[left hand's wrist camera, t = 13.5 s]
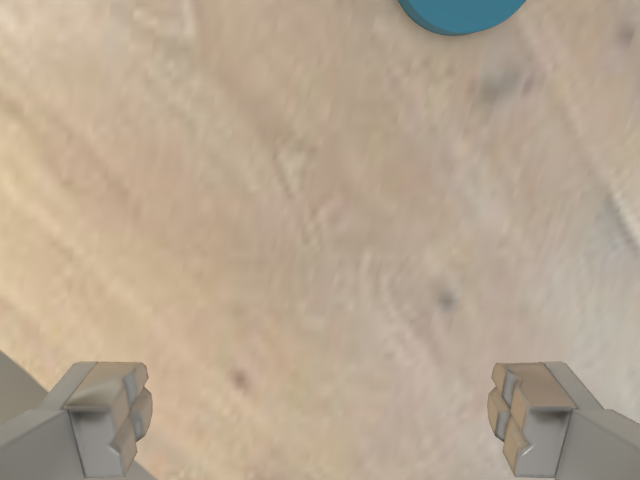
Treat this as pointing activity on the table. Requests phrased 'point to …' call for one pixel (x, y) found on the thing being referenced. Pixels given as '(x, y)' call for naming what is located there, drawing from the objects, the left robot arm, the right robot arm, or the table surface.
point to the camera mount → (459, 14)
